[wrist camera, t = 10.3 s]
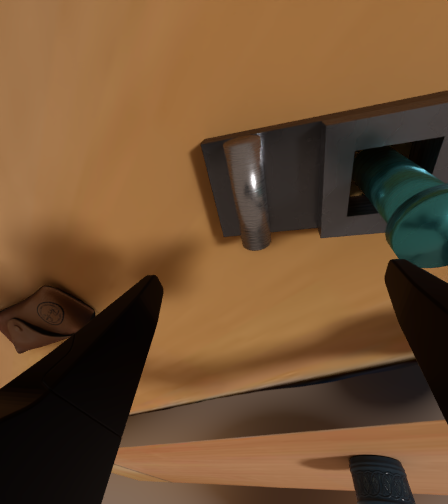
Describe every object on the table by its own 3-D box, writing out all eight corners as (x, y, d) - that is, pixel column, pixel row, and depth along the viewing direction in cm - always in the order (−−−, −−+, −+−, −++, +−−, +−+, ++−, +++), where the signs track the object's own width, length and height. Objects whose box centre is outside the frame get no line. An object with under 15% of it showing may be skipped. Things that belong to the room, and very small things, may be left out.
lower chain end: (419, 207, 19) (449, 234, 16) (225, 227, 22) (220, 253, 19) (458, 88, 14) (511, 95, 11) (204, 138, 18) (192, 154, 15)
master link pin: (397, 187, 18) (480, 265, 11) (341, 194, 19) (385, 270, 12) (411, 131, 16) (528, 186, 9) (346, 142, 17) (405, 199, 10)
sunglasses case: (41, 283, 29) (39, 338, 27) (95, 286, 35) (97, 331, 33) (-16, 316, 37) (-21, 361, 35) (37, 314, 43) (35, 353, 41)
